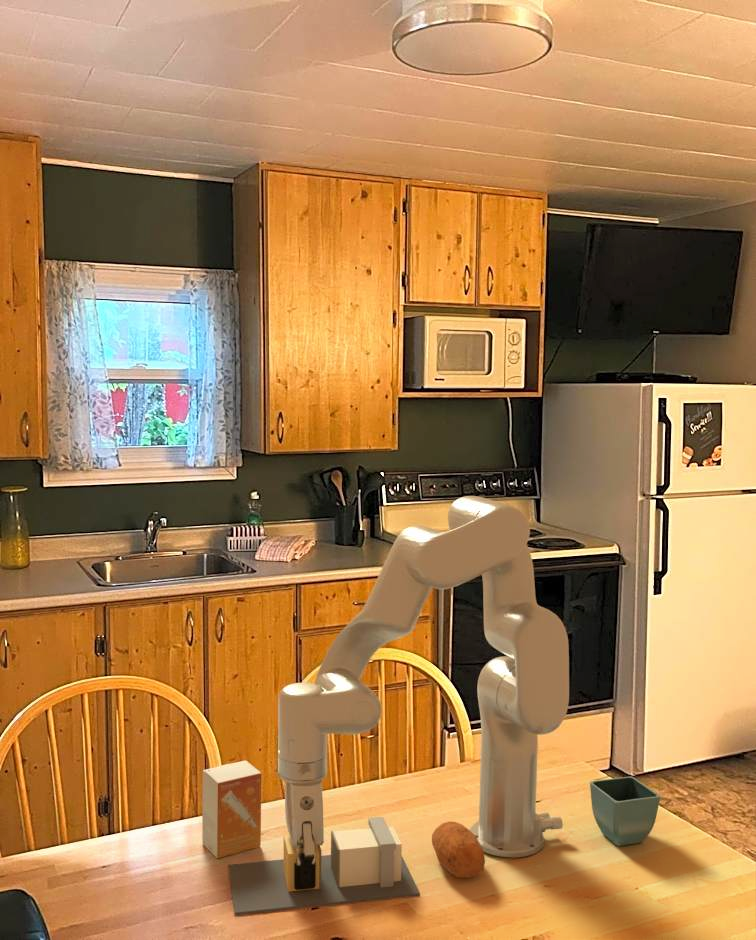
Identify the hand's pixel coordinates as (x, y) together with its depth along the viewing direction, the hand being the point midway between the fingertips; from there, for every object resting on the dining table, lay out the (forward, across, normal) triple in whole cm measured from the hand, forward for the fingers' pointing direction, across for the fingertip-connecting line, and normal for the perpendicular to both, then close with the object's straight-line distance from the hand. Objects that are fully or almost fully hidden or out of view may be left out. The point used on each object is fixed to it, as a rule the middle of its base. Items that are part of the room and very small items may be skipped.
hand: (301, 875), depth 150 cm
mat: (+1, 0, -3) cm, 3 cm away
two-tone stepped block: (+1, 0, -10) cm, 10 cm away
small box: (+1, +14, +10) cm, 17 cm away
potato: (+1, 0, -25) cm, 25 cm away
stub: (+1, 0, 0) cm, 1 cm away
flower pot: (+1, +4, -56) cm, 56 cm away
